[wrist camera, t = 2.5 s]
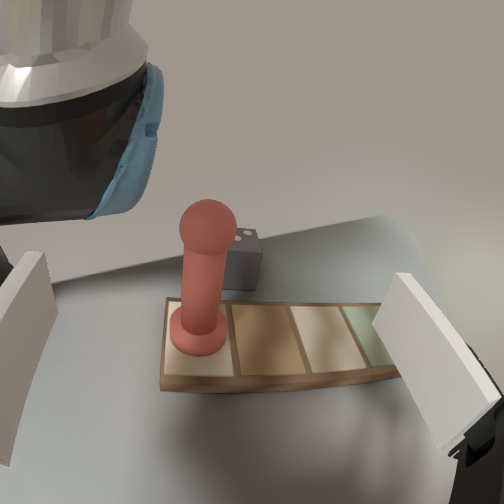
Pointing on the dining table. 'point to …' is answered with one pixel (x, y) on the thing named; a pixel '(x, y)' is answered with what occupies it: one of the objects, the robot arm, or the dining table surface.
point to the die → (243, 261)
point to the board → (281, 349)
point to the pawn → (203, 278)
